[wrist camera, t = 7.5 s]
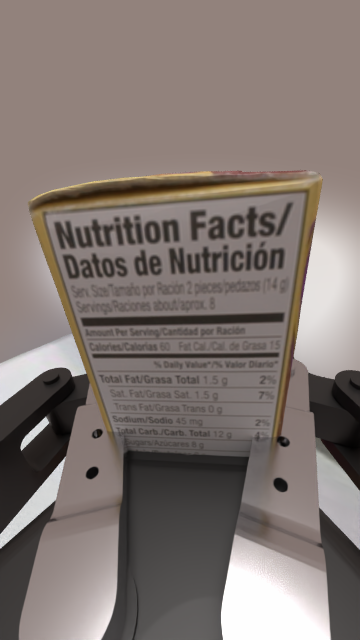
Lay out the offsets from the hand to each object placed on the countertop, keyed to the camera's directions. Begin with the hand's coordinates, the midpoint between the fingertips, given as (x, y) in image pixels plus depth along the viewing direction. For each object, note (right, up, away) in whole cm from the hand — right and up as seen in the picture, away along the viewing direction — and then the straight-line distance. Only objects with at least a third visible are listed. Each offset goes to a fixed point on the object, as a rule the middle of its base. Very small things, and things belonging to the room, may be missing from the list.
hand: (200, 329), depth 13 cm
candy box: (0, -9, +2) cm, 9 cm away
